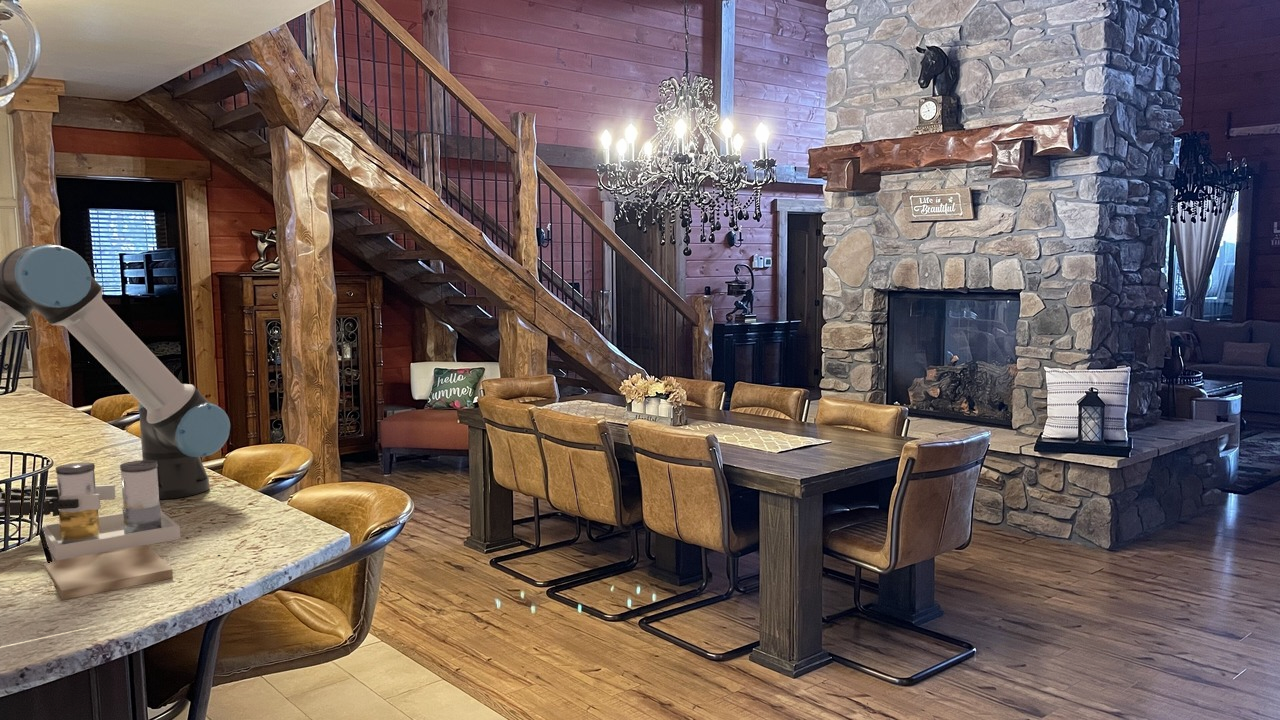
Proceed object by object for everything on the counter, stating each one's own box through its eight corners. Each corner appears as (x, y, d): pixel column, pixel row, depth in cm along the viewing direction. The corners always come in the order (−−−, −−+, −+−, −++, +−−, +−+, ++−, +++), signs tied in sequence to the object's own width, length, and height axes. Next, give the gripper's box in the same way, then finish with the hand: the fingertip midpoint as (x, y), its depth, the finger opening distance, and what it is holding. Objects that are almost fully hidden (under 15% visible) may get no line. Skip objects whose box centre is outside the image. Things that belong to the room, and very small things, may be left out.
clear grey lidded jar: (157, 530, 186) (153, 458, 184) (165, 537, 181) (161, 464, 179) (121, 536, 182) (116, 463, 180) (128, 544, 177) (123, 468, 175)
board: (147, 552, 175) (146, 544, 175) (172, 577, 161) (172, 569, 161) (44, 571, 165) (44, 562, 165) (62, 600, 151) (61, 590, 151)
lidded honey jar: (96, 533, 184) (91, 461, 182) (102, 540, 179) (97, 466, 177) (58, 539, 180) (52, 465, 178) (63, 547, 175) (58, 471, 174)
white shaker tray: (157, 524, 193) (156, 507, 193) (180, 544, 180) (179, 525, 179) (41, 543, 181) (40, 525, 180) (56, 566, 167) (55, 547, 167)
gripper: (-1, 508, 186) (127, 503, 189) (-57, 538, 167) (87, 531, 170) (-5, 470, 185) (124, 465, 189) (-61, 495, 166) (84, 489, 169)
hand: (106, 496), depth 179 cm, fingers open, 6 cm apart
